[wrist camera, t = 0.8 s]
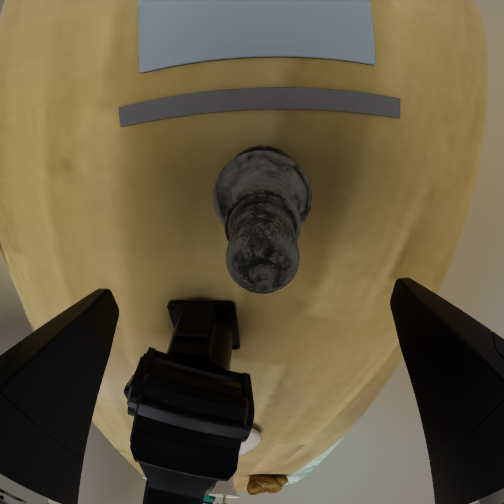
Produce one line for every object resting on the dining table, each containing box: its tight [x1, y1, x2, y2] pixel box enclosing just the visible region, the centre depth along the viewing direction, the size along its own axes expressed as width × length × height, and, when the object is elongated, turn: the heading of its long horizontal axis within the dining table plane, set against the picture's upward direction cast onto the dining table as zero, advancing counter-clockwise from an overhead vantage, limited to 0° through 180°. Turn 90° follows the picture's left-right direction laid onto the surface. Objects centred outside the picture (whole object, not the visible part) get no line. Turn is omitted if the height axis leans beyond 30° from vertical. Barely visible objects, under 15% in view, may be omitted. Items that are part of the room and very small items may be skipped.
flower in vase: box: [208, 428, 262, 504], centre depth 31 cm, size 13×11×25 cm
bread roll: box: [247, 474, 288, 495], centre depth 63 cm, size 13×10×8 cm
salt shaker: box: [213, 146, 312, 294], centre depth 14 cm, size 6×6×12 cm
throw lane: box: [119, 0, 400, 127], centre depth 13 cm, size 14×20×1 cm
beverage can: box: [203, 484, 216, 504], centre depth 62 cm, size 7×7×12 cm
